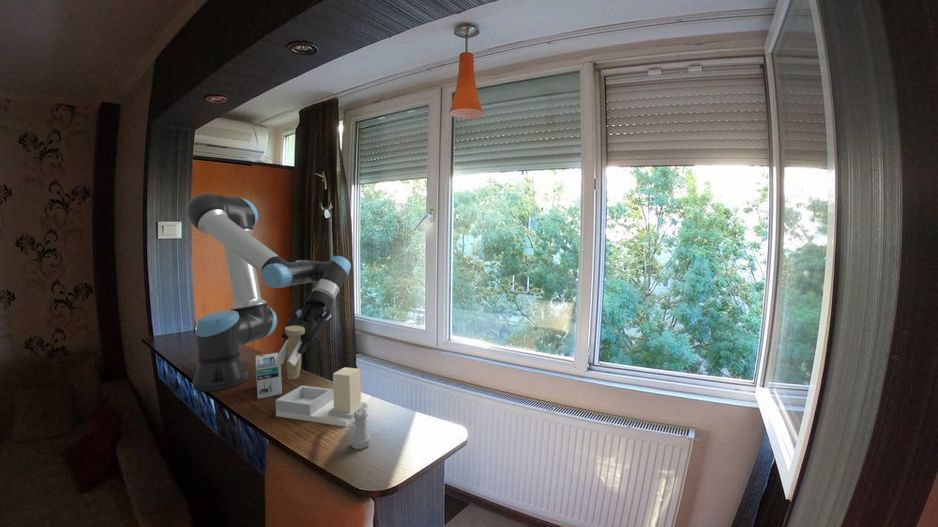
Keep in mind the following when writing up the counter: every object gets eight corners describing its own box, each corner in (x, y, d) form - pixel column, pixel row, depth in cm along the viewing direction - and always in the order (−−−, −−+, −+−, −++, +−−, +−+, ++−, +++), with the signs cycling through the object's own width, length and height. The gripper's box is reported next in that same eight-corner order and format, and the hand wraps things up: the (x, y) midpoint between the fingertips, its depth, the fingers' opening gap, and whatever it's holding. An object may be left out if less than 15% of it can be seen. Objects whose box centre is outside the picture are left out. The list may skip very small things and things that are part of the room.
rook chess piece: (363, 452, 80) (362, 417, 79) (347, 448, 81) (346, 414, 81) (374, 441, 84) (374, 408, 83) (359, 437, 85) (358, 405, 85)
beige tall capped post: (289, 383, 101) (291, 332, 100) (280, 376, 105) (281, 327, 104) (306, 378, 105) (308, 329, 103) (296, 372, 109) (298, 324, 107)
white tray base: (276, 416, 96) (274, 371, 95) (302, 400, 106) (300, 359, 105) (348, 427, 90) (347, 379, 90) (369, 409, 100) (368, 366, 99)
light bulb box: (282, 394, 110) (281, 360, 109) (257, 399, 106) (255, 364, 105) (279, 383, 119) (278, 351, 118) (256, 387, 115) (255, 355, 114)
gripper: (349, 304, 116) (316, 371, 101) (306, 301, 120) (268, 365, 106) (339, 291, 111) (302, 359, 96) (295, 288, 115) (253, 353, 100)
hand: (284, 362), depth 101 cm, fingers closed on beige tall capped post, 4 cm apart
